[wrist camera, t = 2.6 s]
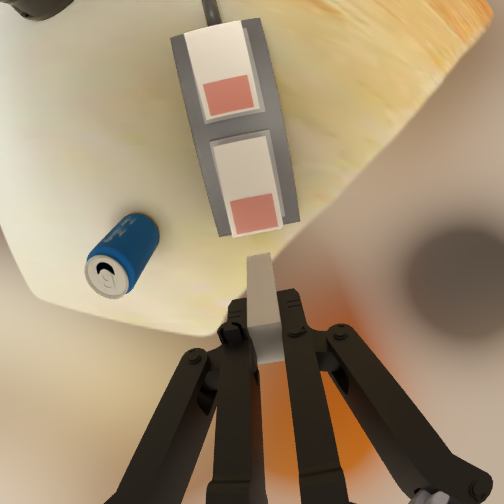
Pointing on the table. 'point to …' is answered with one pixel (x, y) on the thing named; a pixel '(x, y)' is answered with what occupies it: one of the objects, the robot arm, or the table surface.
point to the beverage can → (121, 256)
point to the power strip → (238, 121)
